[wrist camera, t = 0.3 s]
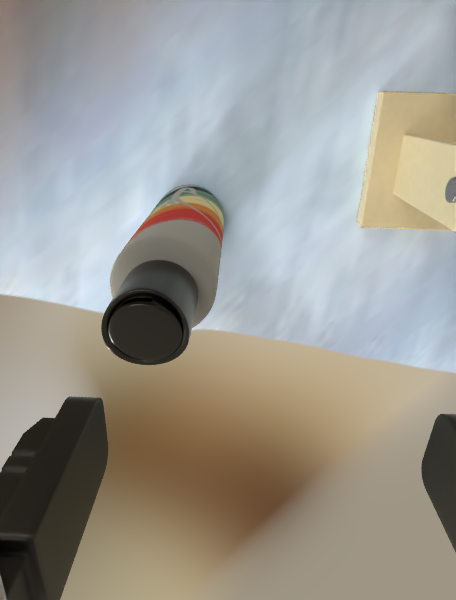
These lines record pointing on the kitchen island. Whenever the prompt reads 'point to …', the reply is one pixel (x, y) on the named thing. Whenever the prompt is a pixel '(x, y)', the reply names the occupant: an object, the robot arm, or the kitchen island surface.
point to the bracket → (411, 163)
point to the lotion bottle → (165, 278)
